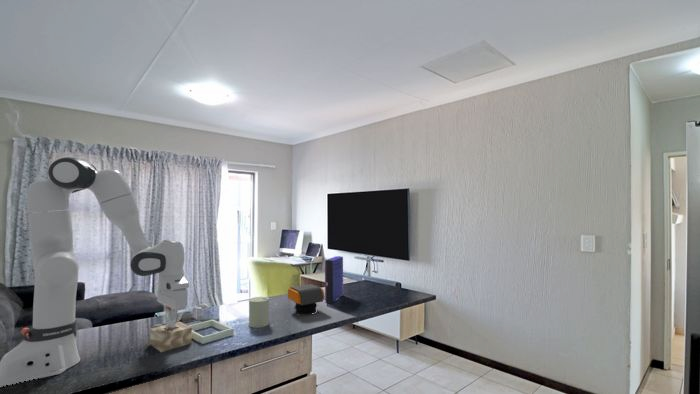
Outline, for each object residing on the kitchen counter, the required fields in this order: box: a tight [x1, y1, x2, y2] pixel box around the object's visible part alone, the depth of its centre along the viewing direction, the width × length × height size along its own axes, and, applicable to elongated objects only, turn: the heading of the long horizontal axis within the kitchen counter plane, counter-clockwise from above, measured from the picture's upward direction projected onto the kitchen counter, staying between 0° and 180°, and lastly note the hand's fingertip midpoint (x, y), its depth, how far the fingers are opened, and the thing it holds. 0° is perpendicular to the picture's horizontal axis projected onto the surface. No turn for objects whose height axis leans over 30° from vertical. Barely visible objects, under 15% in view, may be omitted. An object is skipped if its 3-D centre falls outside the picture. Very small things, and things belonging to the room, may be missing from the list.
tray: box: [188, 320, 234, 345], centre depth 142 cm, size 13×18×4 cm
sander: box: [287, 283, 325, 316], centre depth 180 cm, size 15×25×13 cm, turn 34°
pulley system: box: [153, 311, 220, 328], centre depth 161 cm, size 27×5×15 cm
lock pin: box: [165, 306, 176, 331], centre depth 132 cm, size 3×3×14 cm
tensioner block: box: [149, 321, 193, 353], centre depth 132 cm, size 11×11×7 cm
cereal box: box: [324, 255, 344, 303], centre depth 202 cm, size 17×5×24 cm, turn 161°
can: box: [248, 296, 270, 329], centre depth 157 cm, size 9×9×12 cm
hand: (170, 317), depth 132 cm, fingers closed on lock pin, 3 cm apart
